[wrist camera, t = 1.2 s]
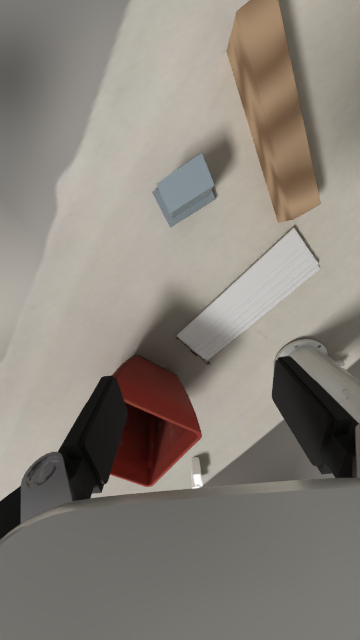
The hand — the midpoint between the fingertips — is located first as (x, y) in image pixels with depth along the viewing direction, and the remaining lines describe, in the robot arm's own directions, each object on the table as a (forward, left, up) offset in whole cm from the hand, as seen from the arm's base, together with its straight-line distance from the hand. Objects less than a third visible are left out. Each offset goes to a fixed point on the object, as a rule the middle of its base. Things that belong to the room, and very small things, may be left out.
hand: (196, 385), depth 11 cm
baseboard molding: (-14, +5, -30) cm, 33 cm away
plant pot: (+9, +26, -29) cm, 40 cm away
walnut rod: (-13, -23, -29) cm, 40 cm away
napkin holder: (-6, +64, -30) cm, 71 cm away
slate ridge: (0, -15, -29) cm, 33 cm away
